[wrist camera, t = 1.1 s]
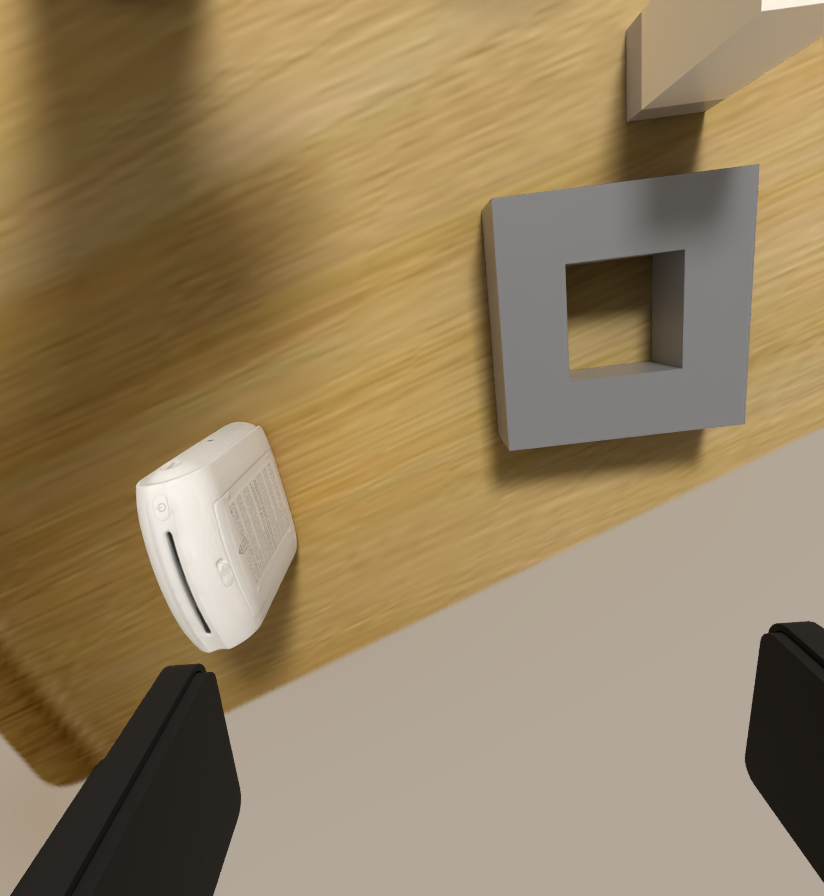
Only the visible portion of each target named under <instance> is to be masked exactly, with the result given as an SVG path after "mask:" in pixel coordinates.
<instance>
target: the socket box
mask: <svg viewBox="0 0 824 896" xmlns="http://www.w3.org/2000/svg"><path fill="white" fill-rule="evenodd" d="M758 179H759V164H756V165H748V166H740V167H733V168H725V169H717V170H709V171H702V172H694V173H686V174H678V175H671V176H663V177H655V178H647V179H639V180H632V181H624V182H616V183H608V184H601V185H593V186H585V187H577V188H570V189H562V190H554V191H546V192H538V193H531V194H523V195H515V196H507V197H500V198H492V199H491V200H490V201H489V202H488V204H487V205H486V206H485V207H484V209H483V210H482V224H483V237H484V251H485V264H486V277H487V290H488V303H489V316H490V329H491V343H492V356H493V369H494V382H495V395H496V408H497V421H498V435H499V436H500V438H501V439H502V441H503V442H504V444H505V445H506V447H507V448H508V450H509V451H514V450H523V449H532V448H540V447H549V446H558V445H566V444H575V443H584V442H592V441H601V440H610V439H619V438H627V437H636V436H645V435H653V434H662V433H671V432H679V431H688V430H697V429H706V428H714V427H723V426H732V425H740V424H745V410H746V392H747V374H748V356H749V339H750V321H751V303H752V286H753V268H754V250H755V232H756V215H757V197H758ZM651 255H652V361H646V362H638V363H629V364H621V365H613V366H604V367H596V368H587V369H579V370H571V371H569V353H568V326H567V299H566V271H565V266H571V265H579V264H587V263H595V262H603V261H611V260H619V259H627V258H635V257H643V256H651Z"/></svg>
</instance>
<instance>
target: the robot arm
mask: <svg viewBox="0 0 824 896" xmlns="http://www.w3.org/2000/svg"><path fill="white" fill-rule="evenodd" d="M745 763H746V768H747V771H748V774H749V776H750V778H751V780H752V782H753V783H754V785H755V786H756V788H757V789H758V790H759V792H760V793H761V795H762V796H763V798H764V799H765V800H766V802H767V803H768V805H769V806H770V808H771V809H772V810H773V812H774V813H775V815H776V816H777V817H778V819H779V820H780V822H781V823H782V824H783V826H784V827H785V829H786V830H787V832H788V833H789V834H790V836H791V837H792V839H793V840H794V841H795V843H796V844H797V846H798V847H799V848H800V850H801V851H802V853H803V854H804V856H805V857H806V858H807V860H808V861H809V863H810V864H811V865H812V867H813V868H814V869H815V871H816V872H817V874H818V875H819V877H820V878H821V879H822V881H823V882H824V628H822V627H821V626H819V625H818V624H816V623H814V622H810V621H806V622H792V623H777V624H774V625H772V626H771V628H770V629H769V633H767V634H764V635H763V636H762V638H761V641H760V649H759V656H758V664H757V671H756V679H755V686H754V693H753V701H752V709H751V716H750V723H749V731H748V738H747V746H746V753H745ZM240 805H241V793H240V786H239V782H238V777H237V772H236V768H235V763H234V759H233V754H232V750H231V745H230V740H229V736H228V731H227V726H226V722H225V717H224V712H223V708H222V703H221V698H220V694H219V689H218V685H217V680H216V677H215V674H214V673H213V672H206V670H205V667H204V666H203V665H202V664H188V665H174V666H167V667H165V668H164V669H163V670H162V671H161V673H160V674H159V676H158V677H157V679H156V681H155V682H154V684H153V685H152V687H151V688H150V690H149V691H148V693H147V694H146V696H145V697H144V699H143V700H142V702H141V704H140V705H139V707H138V708H137V710H136V711H135V713H134V714H133V716H132V717H131V719H130V720H129V722H128V724H127V725H126V727H125V728H124V730H123V731H122V733H121V734H120V736H119V737H118V739H117V740H116V742H115V743H114V745H113V747H112V748H111V750H110V751H109V753H108V754H107V756H106V757H105V758H104V759H103V760H101V761H100V762H99V764H98V765H97V766H96V767H95V768H94V770H93V771H92V772H91V774H90V775H89V777H88V778H87V780H86V781H85V783H84V785H83V786H82V788H81V789H80V791H79V792H78V794H77V795H76V797H75V798H74V800H73V801H72V803H71V804H70V806H69V807H68V809H67V810H66V812H65V813H64V815H63V817H62V818H61V819H60V821H59V822H58V824H57V825H56V827H55V829H54V830H53V832H52V833H51V835H50V836H49V838H48V839H47V841H46V842H45V844H44V845H43V847H42V848H41V850H40V851H39V853H38V854H37V856H36V857H35V859H34V860H33V862H32V863H31V865H30V867H29V868H28V869H27V871H26V873H25V874H24V875H23V877H22V878H21V880H20V882H19V883H18V884H17V886H16V888H15V889H14V891H13V892H12V894H11V895H10V896H213V894H214V891H215V888H216V885H217V882H218V879H219V875H220V872H221V869H222V866H223V863H224V859H225V857H226V854H227V851H228V847H229V844H230V841H231V838H232V835H233V832H234V829H235V826H236V823H237V820H238V816H239V812H240Z"/></svg>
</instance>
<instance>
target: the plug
mask: <svg viewBox="0 0 824 896" xmlns="http://www.w3.org/2000/svg"><path fill="white" fill-rule="evenodd" d="M823 36H824V0H651V1H650V2H649V3H648V4H647V6H646V7H645V8H644V9H643V11H642V12H641V13H640V14H639V16H638V17H637V18H636V19H635V21H634V22H633V23H632V24H631V26H630V27H629V28H628V29H627V30H626V81H627V122H630V121H638V120H645V119H653V118H661V117H668V116H676V115H683V114H691V113H698V112H705V111H707V110H708V109H710V108H712V107H713V106H715V105H716V104H718V103H719V102H721V101H723V100H724V99H726V98H727V97H729V96H730V95H732V94H733V93H735V92H737V91H738V90H740V89H741V88H743V87H744V86H746V85H748V84H749V83H751V82H752V81H754V80H755V79H757V78H759V77H760V76H762V75H763V74H765V73H766V72H768V71H769V70H771V69H773V68H774V67H776V66H777V65H779V64H780V63H782V62H784V61H785V60H787V59H788V58H790V57H791V56H793V55H795V54H796V53H798V52H799V51H801V50H802V49H804V48H805V47H807V46H809V45H810V44H812V43H813V42H815V41H816V40H818V39H820V38H821V37H823Z"/></svg>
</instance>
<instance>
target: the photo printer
mask: <svg viewBox="0 0 824 896" xmlns="http://www.w3.org/2000/svg"><path fill="white" fill-rule="evenodd" d="M136 502H137V511H138V517H139V522H140V527H141V531H142V535H143V539H144V543H145V546H146V550H147V553H148V556H149V559H150V562H151V565H152V568H153V571H154V573H155V576H156V578H157V581H158V584H159V586H160V589H161V591H162V593H163V595H164V597H165V600H166V602H167V604H168V606H169V608H170V610H171V612H172V614H173V615H174V617H175V619H176V621H177V622H178V624H179V626H180V627H181V629H182V630H183V632H184V633H185V634H186V635H187V637H188V638H189V639H190V640H191V641H192V642H193V643H194V644H195V645H196V646H197V647H198V648H199V649H200V650H201V651H203V652H207V653H210V652H213V651H215V650H219V649H231V648H233V647H235V646H237V645H239V644H240V643H242V642H243V641H245V640H246V639H248V638H249V637H250V636H251V635H252V634H254V633H255V632H256V631H257V630H258V628H259V627H260V626H261V624H262V622H263V620H264V618H265V616H266V614H267V612H268V610H269V607H270V606H271V603H272V601H273V599H274V597H275V595H276V593H277V591H278V588H279V586H280V584H281V582H282V580H283V578H284V576H285V574H286V572H287V569H288V568H289V566H290V564H291V561H292V559H293V557H294V555H295V553H296V550H297V537H296V531H295V527H294V523H293V519H292V515H291V512H290V508H289V505H288V501H287V498H286V495H285V491H284V488H283V485H282V481H281V478H280V475H279V472H278V468H277V465H276V462H275V459H274V456H273V453H272V450H271V447H270V445H269V442H268V439H267V437H266V435H265V433H264V431H263V429H262V428H261V426H259V425H258V426H255V425H253V424H250V423H247V422H234V423H230V424H228V425H225V426H224V427H222V428H221V429H219V430H217V431H216V432H214V433H213V434H211V435H209V436H208V437H206V438H205V439H203V440H201V441H200V442H198V443H197V444H195V445H193V446H192V447H190V448H189V449H187V450H186V451H184V452H183V453H181V454H179V455H178V456H176V457H175V458H173V459H172V460H170V461H169V462H167V463H165V464H164V465H162V466H161V467H159V468H158V469H157V470H155V471H154V472H152V473H150V474H149V475H148V476H146V477H144V478H143V479H141V480H140V481H139V482H138V483H137V485H136Z"/></svg>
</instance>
